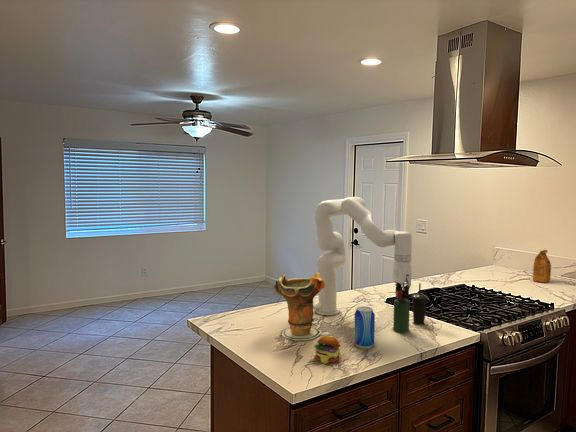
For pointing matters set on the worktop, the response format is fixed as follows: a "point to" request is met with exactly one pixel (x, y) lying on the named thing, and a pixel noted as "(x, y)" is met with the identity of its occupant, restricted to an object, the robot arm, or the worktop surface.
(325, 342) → the cheeseburger
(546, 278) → the coffee package
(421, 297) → the drinking cup
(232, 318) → the worktop surface
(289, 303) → the decorative vase
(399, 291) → the cap
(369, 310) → the beer can
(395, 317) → the bottle
